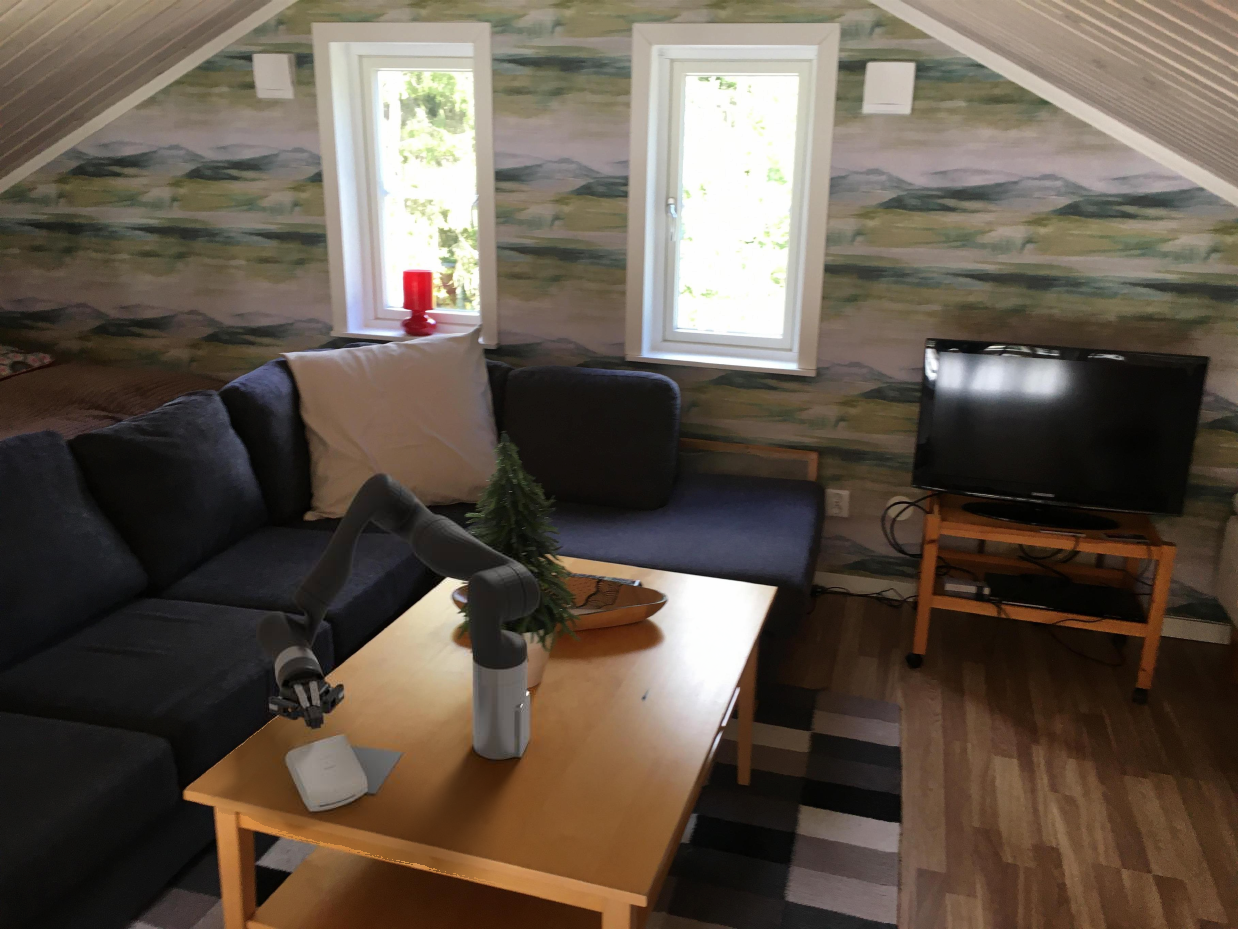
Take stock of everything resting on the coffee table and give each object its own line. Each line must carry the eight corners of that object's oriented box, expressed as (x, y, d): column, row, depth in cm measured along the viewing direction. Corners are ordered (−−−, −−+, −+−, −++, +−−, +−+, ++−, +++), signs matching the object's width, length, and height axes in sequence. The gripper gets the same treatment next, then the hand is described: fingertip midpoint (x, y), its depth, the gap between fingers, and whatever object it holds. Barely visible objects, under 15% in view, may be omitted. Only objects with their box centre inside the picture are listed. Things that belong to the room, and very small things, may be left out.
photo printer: (346, 729, 170) (372, 781, 161) (346, 748, 172) (372, 800, 163) (284, 749, 165) (307, 803, 156) (285, 768, 167) (308, 823, 158)
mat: (402, 753, 176) (402, 752, 176) (375, 795, 164) (375, 793, 164) (342, 745, 177) (342, 744, 177) (311, 786, 166) (311, 784, 166)
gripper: (258, 662, 177) (272, 711, 162) (336, 649, 183) (356, 695, 168) (261, 701, 179) (275, 752, 165) (338, 686, 185) (358, 735, 170)
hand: (316, 723), depth 166 cm, fingers closed
